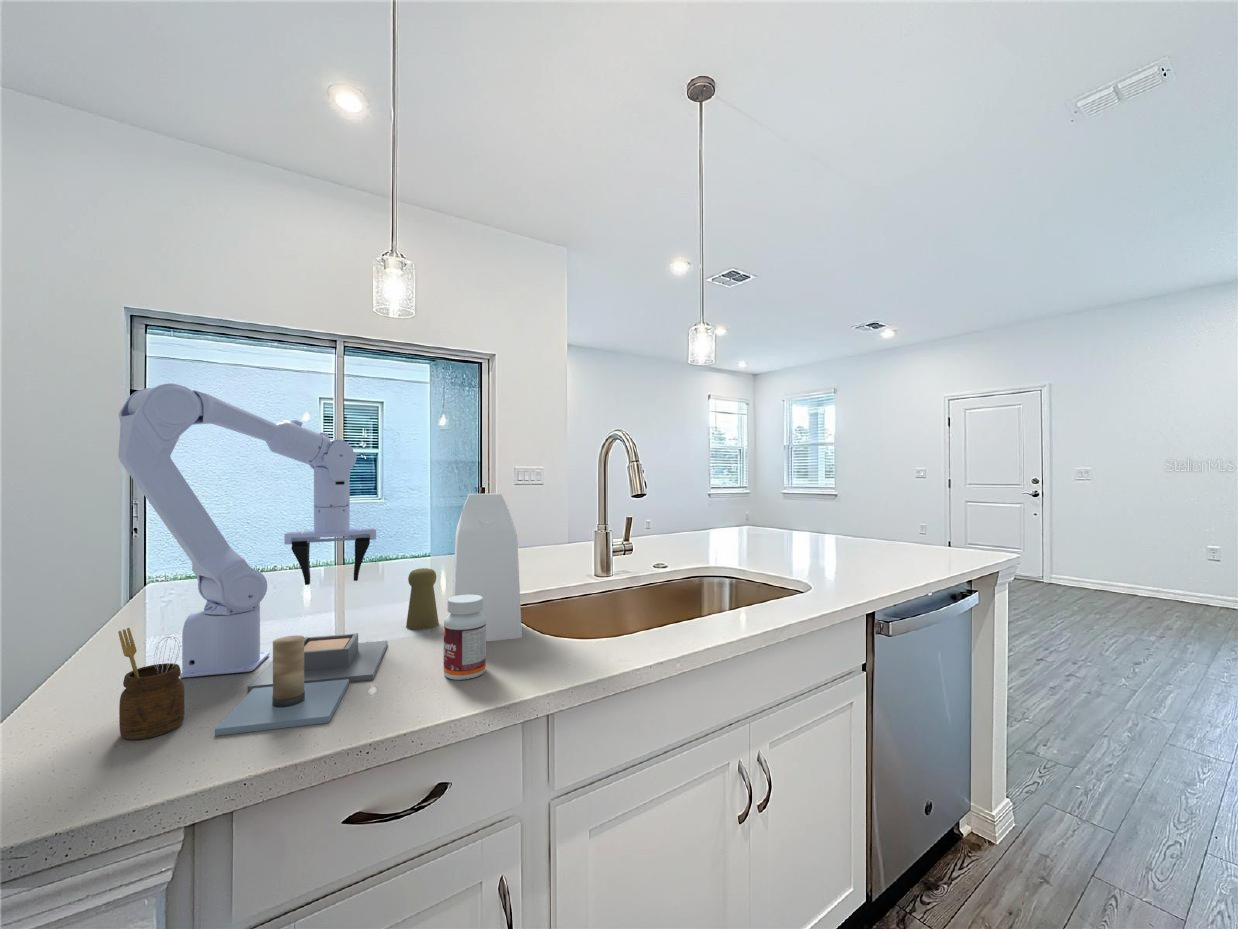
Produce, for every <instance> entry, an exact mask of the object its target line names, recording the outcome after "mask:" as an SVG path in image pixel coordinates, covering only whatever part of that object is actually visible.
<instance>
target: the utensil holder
mask: <svg viewBox="0 0 1238 929" xmlns="http://www.w3.org/2000/svg"><path fill="white" fill-rule="evenodd" d="M117 633H118V637H119V640H120V644H121V649H122V653H123V656H124V657H125V658H129V660H130V661H129V662H130V664H131V668H132V670H131V671H129V672H126V674H125V675H124V679H123V682H122V683H123V684H122V685H123V687H124V688H125V689H124V690H122V692H121V694H120V697H119V704H118V706H119V708H118V710H119V712H118V713H119V718H118V719H119V720H118V721H119V723H118V724H119V733H120V736H121V738H122V739H125V740H129V741H131V740H132V741H137V740H138V741H139V740H145V739H150V738H155V737H159V736H162V735H164V734H167V733H169V732H172V731H174V730H175V729H177V728H178V727H180V726H181V725H182V723H183V722H184V719H185V684H184V681H183V680H182V679H181V678H180V675H181V673H182V670H181V667H180V665H179V664H178V663H176V662H177V660H178V658H179V655H180V653H179V652H180V651H181V647H180V645H177V648H178V650H177V653H176V655H177V656H175V661H174V663H173V662H172V659H173V657H174V654H175V651H173V652H172V657H171V659H170V658H168V659H167V662H166V663H164V662H163V663H158V664H157V661H155V663H156V664H155V663H153V664H151V665H147V666H142V667H137V664H136V660H135V655H136V653H137V648H136V644H135V640H134V638H133V635H132V631H131V628H130V627H127V628H126V629H125V628H124V629H122V630H119V631H118V632H117ZM168 639H174V644H176V642H177V644H179V643H181V642H180V641H181V640H179V638H177V637H175V636H169V635H168V636H166V637H165V636H164V637H163V638H162V639H161V640H160V641H159V642H158V643H157V646H156V647H155V650H154V656H153V658H156V657H157V656H158V655H157V654H158V652H157V651H158V650H159V645H160V643H161V642H162V641H163V640H166V641H164V642H163V643H162V646H161V649H160V652H159V653H160V654H159V655H161V653H162V650H163V647H164V645H165V647H164V652H163V655H165V652H166V647H167V643H168ZM175 649H176V645H174V647H173V650H175ZM171 650H172V647H170V649H169V652H171ZM170 655H171V653H169V654H168V657H170ZM160 658H161V656H159V658H158V660H160ZM164 659H165V656H163V659H162V661H165V660H164ZM169 660H170V661H169Z"/></svg>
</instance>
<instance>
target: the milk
mask: <svg viewBox="0 0 1238 929" xmlns="http://www.w3.org/2000/svg"><path fill="white" fill-rule="evenodd" d="M518 545H519V543H518V534H517V531H516V527H515V524H514V521H513V518H512V516H511V513H510V510H509V508H508V505H507V504H506V501H505V499H504V496H503V494H502V493H501V492H500V493H499V492H497V493H496V492H495V493H468V495H467V498H466V500H465V502H464V504H463V507H462V510H461V513H460V516H459V519H458V523H457V526H456V529H455V538H454V559H453V560H454V562H453V564H454V566H453V580H452V582H453V585H452V597H454V596H458V595H479V596H482V597H483V610H481V611H480V612H481V613H483V614H484V615H485V617H486V642H490V641H491V642H494V641H502V640H513V639H522V638H523V633H522V631H523V630H522V614H521V613H522V611H521V608H522V607H521V589H520V588H521V587H520V565H519V548H518V547H519V546H518Z"/></svg>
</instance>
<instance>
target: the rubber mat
mask: <svg viewBox="0 0 1238 929" xmlns="http://www.w3.org/2000/svg"><path fill="white" fill-rule="evenodd" d="M349 685H350V682H349V679H345V680H334V681H324V682H314V683H304V690H305V699H304V701H302V702H301V703H299V704H296V705H293V706H289V707H274V706H273V705H272V696H273V687H263V688H253V689H252V690H251V691H250V692H247V694H246V696H245V697H243V698H242V699H241V700H240V702H239V703H238V704H237V705H236V706H235V707H234V709H232V710H231V712H230V713H228V714H227V716H226V717H224V719H223V720H222V721H221V722H219V724H218V725H217V726H216V727H215V728H214V736H217V737H218V736H224V735H226V736H227V735H235V734H241V733H251V732H258V731H260V732H261V731H266V730H267V731H268V730H277V729H284V728H285V729H286V728H294V727H302V726H304V727H305V726H312V725H319V724H321V725H322V724H328V723H330V722H331V720H332V718H333V716H334V714H335V712H336V711H337V708H338V707H339V705H340V703H341V701H342V699H343V697H344V695H345V693H346V691H347V689H348V688H349Z"/></svg>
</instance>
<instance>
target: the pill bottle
mask: <svg viewBox="0 0 1238 929" xmlns="http://www.w3.org/2000/svg"><path fill="white" fill-rule="evenodd" d="M481 610H483V597H482V596H479V595H458V596H454V597H453V596H451V597H449V598H448V599H447V610H446V611H447V612H448V615H447V616H446V617H444V621H443V674H444V676H445V677H446V678H447V679H450V680H454V681H455V680H457V681H458V680H459V681H464V680H469V679H470V678H471V679H474V678H478V677H479V676H481V675H483V674H484V673H485V671H486V669H487V668H486V667H487V664H486V663H487V641H486V617H485V615H484V614H483V613H481V612H480V611H481Z"/></svg>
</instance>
